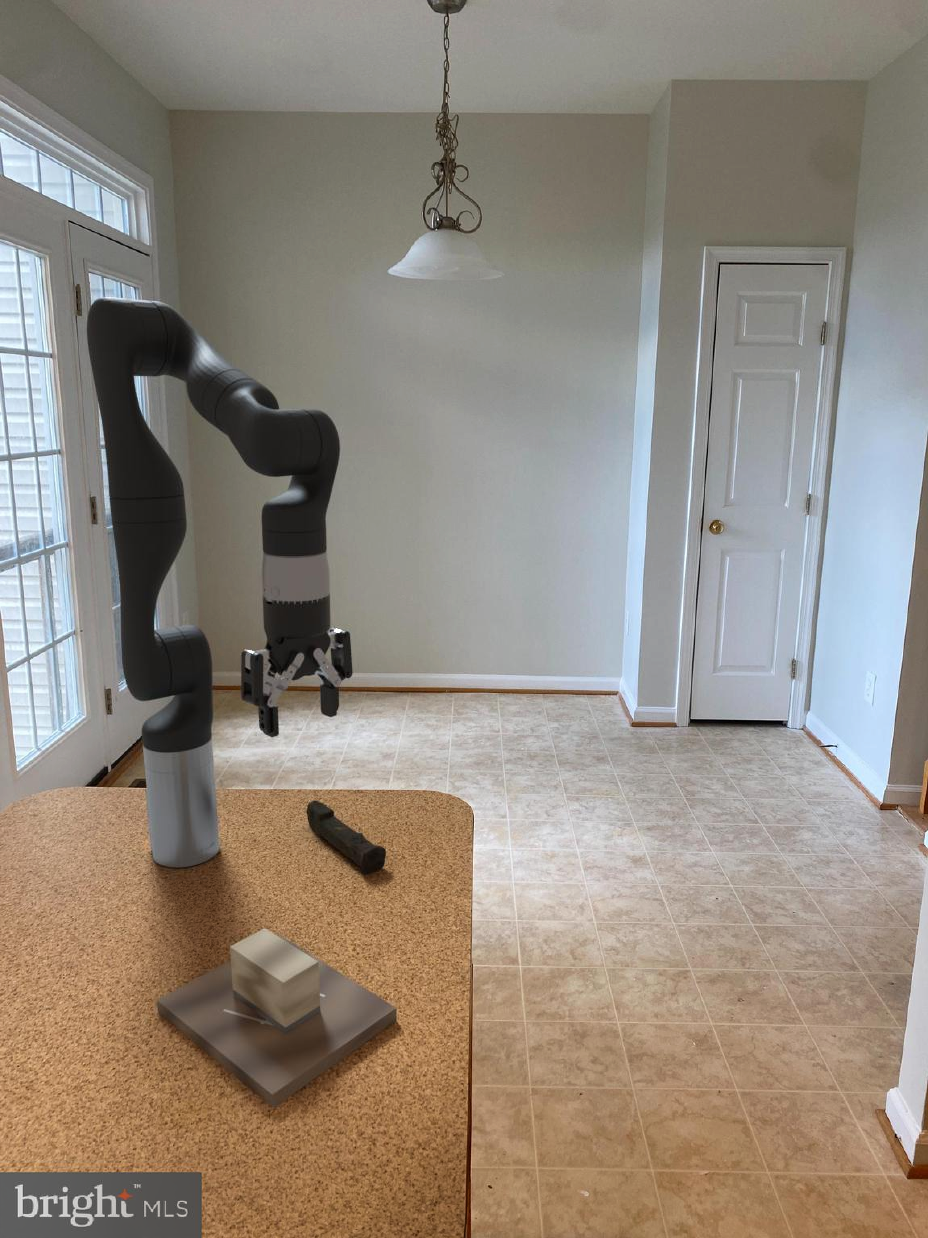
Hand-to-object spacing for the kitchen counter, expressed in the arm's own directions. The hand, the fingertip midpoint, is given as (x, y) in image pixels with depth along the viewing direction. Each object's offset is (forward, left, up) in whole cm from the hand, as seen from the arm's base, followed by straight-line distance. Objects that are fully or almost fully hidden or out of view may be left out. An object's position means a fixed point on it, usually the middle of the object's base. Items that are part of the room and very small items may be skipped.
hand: (300, 724), depth 105 cm
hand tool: (-12, +15, -27) cm, 33 cm away
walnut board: (+11, -13, -26) cm, 31 cm away
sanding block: (+11, -13, -25) cm, 30 cm away
